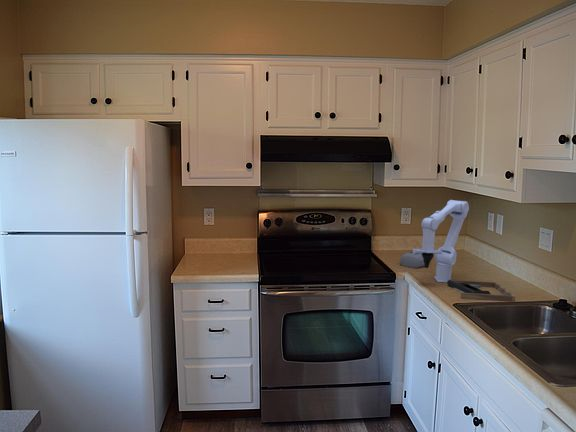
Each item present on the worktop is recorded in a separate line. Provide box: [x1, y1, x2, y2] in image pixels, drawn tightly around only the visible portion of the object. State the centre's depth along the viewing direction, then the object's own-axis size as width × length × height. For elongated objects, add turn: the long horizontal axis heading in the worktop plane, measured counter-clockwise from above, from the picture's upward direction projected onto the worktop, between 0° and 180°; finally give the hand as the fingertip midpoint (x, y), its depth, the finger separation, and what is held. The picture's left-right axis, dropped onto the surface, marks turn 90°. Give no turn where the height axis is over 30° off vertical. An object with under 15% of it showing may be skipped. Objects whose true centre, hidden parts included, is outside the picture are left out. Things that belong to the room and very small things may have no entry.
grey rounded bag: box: [399, 251, 425, 269], centre depth 272 cm, size 15×8×20 cm
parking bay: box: [451, 279, 516, 302], centre depth 219 cm, size 23×24×2 cm
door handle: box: [446, 279, 491, 294], centre depth 222 cm, size 3×20×16 cm
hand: (426, 267), depth 227 cm, fingers closed
